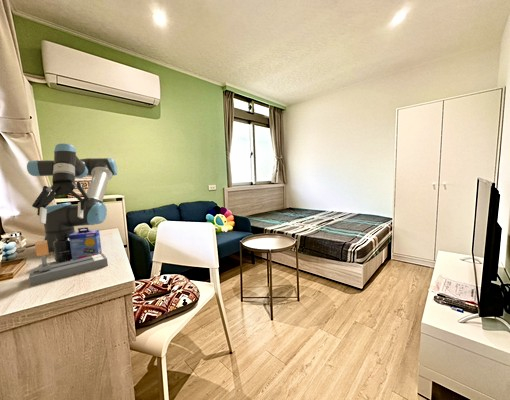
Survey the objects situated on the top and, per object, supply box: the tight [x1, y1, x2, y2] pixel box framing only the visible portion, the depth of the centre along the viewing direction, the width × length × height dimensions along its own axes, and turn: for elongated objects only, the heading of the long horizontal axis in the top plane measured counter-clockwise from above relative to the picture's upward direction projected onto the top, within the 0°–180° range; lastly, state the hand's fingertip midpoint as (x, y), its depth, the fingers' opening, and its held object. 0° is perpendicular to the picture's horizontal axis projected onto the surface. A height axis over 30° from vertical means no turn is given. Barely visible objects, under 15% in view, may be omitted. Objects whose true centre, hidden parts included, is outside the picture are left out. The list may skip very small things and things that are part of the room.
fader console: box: [28, 252, 109, 287], centre depth 83 cm, size 22×9×3 cm, turn 134°
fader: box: [34, 239, 52, 272], centre depth 78 cm, size 3×6×10 cm, turn 44°
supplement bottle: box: [53, 232, 72, 263], centre depth 96 cm, size 7×7×12 cm
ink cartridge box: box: [69, 226, 103, 261], centre depth 96 cm, size 10×6×14 cm, turn 113°
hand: (61, 220), depth 91 cm, fingers open, 13 cm apart
